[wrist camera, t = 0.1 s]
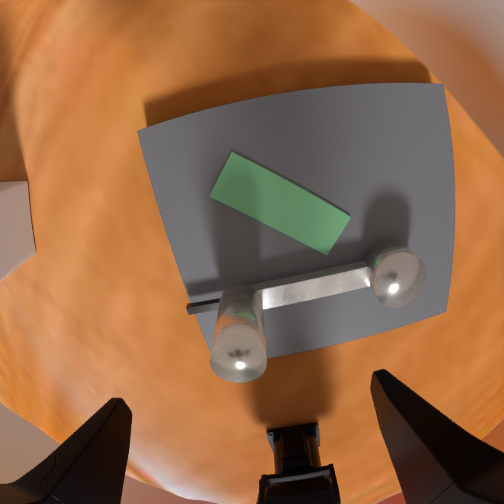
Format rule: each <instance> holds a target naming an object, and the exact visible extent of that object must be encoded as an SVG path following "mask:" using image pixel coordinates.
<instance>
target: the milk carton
mask: <svg viewBox="0 0 504 504" xmlns="http://www.w3.org/2000/svg"><path fill="white" fill-rule="evenodd" d="M35 253H36V250H35V244H34V237H33V230H32V223H31V214H30V204H29V192H28V182H27V181H10V182H0V281H1V280H3V279H4V278H5V277H6V276H7V275H9V274H10V273H11V272H13V271H14V270H15V269H16V268H18V267H19V266H20V265H22V264H23V263H24V262H25V261H27V260H28V259H29V258H31V257H32V256H33V255H35Z"/></svg>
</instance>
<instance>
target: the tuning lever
mask: <svg viewBox="0 0 504 504" xmlns="http://www.w3.org/2000/svg"><path fill="white" fill-rule="evenodd" d="M425 281H426V268H425V265H424V263H423V262H422V261H421V260H420V259H419V258H418V257H417V256H416V255H415V254H414V253H412V252H411V251H410V250H409V249H408V248H407V247H405V246H404V245H403V244H402V243H400V242H398V241H396V240H385V241H382V242H380V243H378V244H376V245H375V246H374V247H372V248H371V249H370V251H369V252H368V253H367V255H366V257H365V259H364V261H360V262H355V263H351V264H346V265H342V266H337V267H333V268H328V269H324V270H319V271H314V272H310V273H305V274H300V275H295V276H291V277H286V278H281V279H276V280H271V281H266V282H261V283H256V284H251V285H235V286H232V287H230V288H228V289H226V290H225V291H224V292H223V293H222V295H221V297H220V298H217V299H211V300H206V301H200V302H194V303H189V304H187V307H186V309H187V312H188V314H189V315H191V314H197V313H203V312H209V311H215V310H218V313H217V319H216V326H215V332H214V338H213V345H212V351H211V358H210V366H211V368H212V370H213V372H214V373H215V374H216V375H217V376H219V377H220V378H222V379H224V380H226V381H230V382H236V383H243V382H249V381H252V380H255V379H257V378H258V377H260V376H261V375H262V374H263V373H264V372H265V370H266V367H267V356H266V342H265V327H264V313H263V309H268V308H273V307H278V306H283V305H288V304H293V303H298V302H302V301H307V300H312V299H316V298H321V297H325V296H330V295H334V294H339V293H343V292H347V291H351V290H356V289H360V288H364V287H368V286H369V287H370V288H371V290H372V291H373V293H374V294H375V296H376V297H377V298H378V300H379V301H380V303H381V304H383V305H384V306H386V307H389V308H399V307H402V306H405V305H407V304H409V303H410V302H412V301H413V300H414V299H415V298H416V297H417V296H418V295H419V294H420V292H421V291H422V289H423V287H424V284H425Z"/></svg>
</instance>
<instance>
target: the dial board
mask: <svg viewBox="0 0 504 504" xmlns="http://www.w3.org/2000/svg"><path fill="white" fill-rule="evenodd" d="M137 132H138V136H139V140H140V144H141V148H142V151H143V155H144V159H145V163H146V166H147V170H148V174H149V177H150V181H151V184H152V188H153V191H154V194H155V198H156V201H157V204H158V208H159V211H160V214H161V218H162V221H163V224H164V227H165V230H166V233H167V236H168V239H169V242H170V245H171V248H172V251H173V254H174V257H175V260H176V263H177V266H178V269H179V272H180V275H181V277H182V280H183V283H184V286H185V288H186V291H187V294H188V297H189V299H190V302H191V303H194V302H200V301H206V300H211V299H217V298H220V297H221V295H222V293H223V292H224V291H225V290H226V289H228V288H230V287H232V286H235V285H251V284H256V283H261V282H266V281H271V280H276V279H281V278H286V277H291V276H295V275H300V274H305V273H310V272H314V271H319V270H324V269H328V268H333V267H337V266H342V265H346V264H351V263H355V262H360V261H364V259H365V257H366V255H367V253H368V252H369V251H370V249H371V248H372V247H374V246H375V245H376V244H378V243H380V242H382V241H385V240H396V241H398V242H400V243H402V244H403V245H404V246H405V247H407V248H408V249H409V250H410V251H411V252H412V253H414V254H415V255H416V256H417V257H418V258H419V259H420V260H421V261H422V262H423V263H424V265H425V268H426V281H425V284H424V287H423V289H422V291H421V292H420V294H419V295H418V296H417V297H416V298H415V299H414V300H413V301H412V302H410V303H409V304H407V305H405V306H402V307H399V308H389V307H386V306H384V305H383V304H381V303H380V301H379V300H378V298H377V297H376V296H375V294H374V293H373V291H372V290H371V288H370V287H369V286H368V287H364V288H360V289H356V290H351V291H347V292H343V293H339V294H334V295H330V296H325V297H321V298H316V299H312V300H307V301H302V302H298V303H293V304H288V305H283V306H278V307H273V308H268V309H263V313H264V327H265V342H266V356H267V359H268V358H274V357H279V356H285V355H290V354H295V353H300V352H305V351H310V350H314V349H319V348H323V347H328V346H332V345H336V344H340V343H344V342H348V341H352V340H356V339H360V338H364V337H368V336H371V335H375V334H378V333H382V332H385V331H389V330H392V329H396V328H399V327H402V326H405V325H409V324H412V323H415V322H418V321H421V320H424V319H427V318H430V317H433V316H436V315H439V314H441V313H444V312H446V309H447V303H448V296H449V289H450V281H451V272H452V262H453V250H454V232H455V178H454V160H453V148H452V138H451V130H450V122H449V115H448V109H447V103H446V97H445V92H444V87H443V84H435V83H373V84H355V85H342V86H332V87H322V88H314V89H306V90H299V91H292V92H286V93H280V94H274V95H268V96H263V97H258V98H253V99H248V100H243V101H239V102H234V103H230V104H226V105H221V106H217V107H213V108H210V109H206V110H202V111H198V112H195V113H191V114H188V115H184V116H181V117H178V118H174V119H171V120H168V121H165V122H162V123H159V124H156V125H153V126H150V127H147V128H144V129H141V130H138V131H137ZM217 313H218V310H215V311H209V312H203V313H197V314H195V315H196V318H197V320H198V323H199V325H200V328H201V330H202V333H203V335H204V338H205V340H206V343H207V345H208V348H209V350H210V353H211V351H212V345H213V338H214V332H215V326H216V319H217Z"/></svg>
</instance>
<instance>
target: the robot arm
mask: <svg viewBox="0 0 504 504" xmlns="http://www.w3.org/2000/svg"><path fill="white" fill-rule="evenodd" d="M370 389H371V394H372V398H373V402H374V406H375V410H376V414H377V419H378V423H379V427H380V430H381V433H382V436H383V438H384V441H385V444H386V446H387V449H388V452H389V454H390V457H391V460H392V463H393V466H394V468H395V471H396V474H397V477H398V480H399V483H400V486H401V489H402V492H403V495H404V498H405V501H406V504H504V453H503V452H502V451H500V450H498V449H496V448H494V447H492V446H491V445H489V444H487V443H485V442H483V441H481V440H480V439H478V438H476V437H475V436H473V435H471V434H470V433H468V432H467V431H466V430H464V429H463V428H461V427H460V426H459V425H457V424H456V423H455V422H452V420H451V419H449V418H448V417H447V416H445V415H444V414H443V413H441V412H440V411H439V410H437V409H436V408H435V407H433V406H432V405H431V404H430V403H428V402H427V401H426V400H424V399H423V398H422V397H420V396H419V395H418V394H416V393H415V392H414V391H413V390H411V389H410V388H409V387H407V386H406V385H405V384H403V383H402V382H401V381H400V380H398V379H397V378H396V377H394V376H393V375H392V374H391V373H389V372H388V371H387V370H385V369H381V370H377V371H374V372H373V374H372V379H371V386H370ZM131 424H132V412H131V410H130V408H129V407H128V406H127V404H126V403H125V401H124V400H123V399H122V398H111V399H110V400H109V401H108V402H107V403H106V404H104V405H103V406H102V407H101V408H100V409H99V410H98V411H97V412H96V413H95V414H94V415H93V416H92V417H90V418H89V419H88V420H87V421H86V422H85V423H84V424H83V425H82V426H81V427H80V428H79V429H78V430H76V431H75V432H74V433H73V434H72V435H71V436H70V437H69V438H68V439H67V440H66V441H64V442H63V443H62V444H61V445H60V446H59V447H58V448H57V449H56V451H53V452H52V453H51V454H50V455H49V456H48V457H47V458H46V459H44V460H43V461H42V462H41V463H40V464H38V465H37V466H36V467H34V468H33V469H32V470H30V471H29V472H28V473H26V474H25V475H23V476H22V477H21V478H19V479H18V480H16V481H14V482H12V483H8V484H0V504H120V503H121V496H122V490H123V483H124V476H125V471H126V465H127V460H128V454H129V448H130V436H131ZM267 437H268V440H269V442H270V445H271V447H272V450H273V452H274V464H275V474H271V475H266V474H265V475H262V477H261V479H260V480H259V494H258V499H257V503H256V504H341V501H340V494H339V488H338V484H337V479H336V475H335V471H334V467H333V464H328V465H327V466H322V467H321V461H320V455H319V450H318V447H319V446H320V438H319V429H318V424H317V423H311V424H306V425H301V426H295V427H289V428H283V429H276V430H270V431H267Z"/></svg>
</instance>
